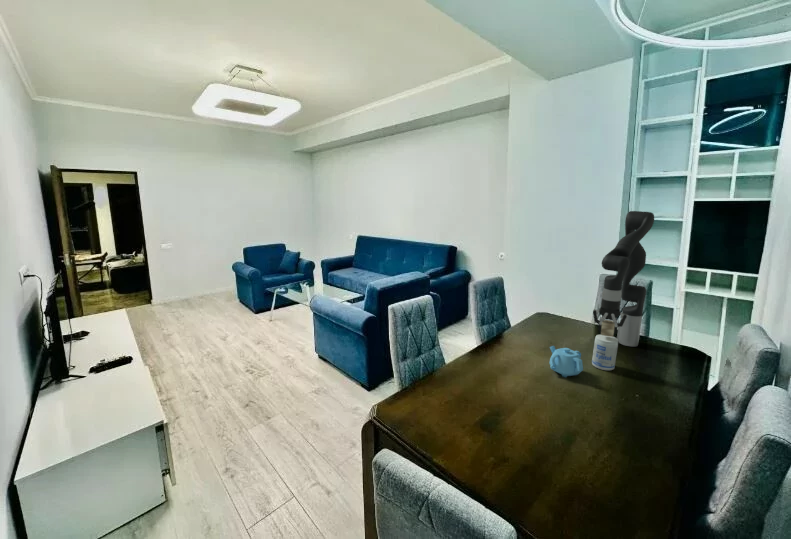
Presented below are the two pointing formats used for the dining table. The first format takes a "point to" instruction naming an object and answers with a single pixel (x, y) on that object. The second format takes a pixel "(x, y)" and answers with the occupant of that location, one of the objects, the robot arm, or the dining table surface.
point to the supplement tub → (605, 352)
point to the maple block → (607, 328)
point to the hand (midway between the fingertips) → (607, 332)
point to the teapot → (566, 361)
